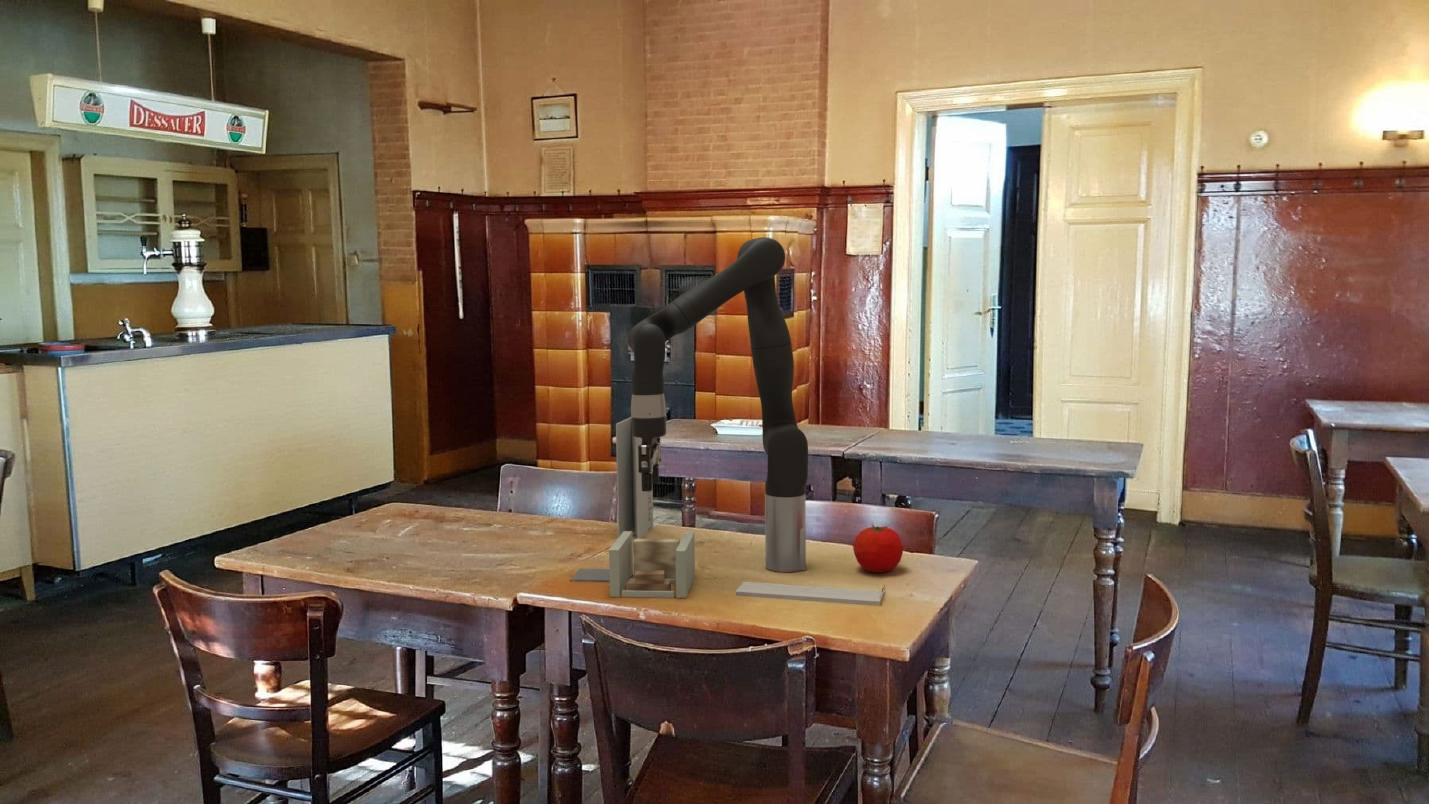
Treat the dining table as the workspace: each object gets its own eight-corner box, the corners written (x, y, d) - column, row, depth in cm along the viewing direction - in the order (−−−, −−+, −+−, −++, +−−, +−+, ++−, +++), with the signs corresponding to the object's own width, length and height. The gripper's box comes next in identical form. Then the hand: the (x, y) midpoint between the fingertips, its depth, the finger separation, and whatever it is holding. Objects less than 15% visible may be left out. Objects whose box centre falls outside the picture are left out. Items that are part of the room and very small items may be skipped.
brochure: (638, 540, 265) (636, 424, 261) (618, 539, 266) (615, 424, 262) (653, 528, 279) (651, 417, 275) (633, 527, 280) (631, 416, 276)
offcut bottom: (671, 593, 220) (671, 580, 220) (669, 598, 217) (669, 584, 217) (629, 593, 221) (629, 579, 221) (626, 597, 218) (626, 583, 218)
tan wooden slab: (680, 578, 230) (679, 539, 229) (678, 582, 228) (678, 542, 227) (635, 578, 231) (635, 538, 230) (633, 581, 229) (633, 541, 228)
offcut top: (664, 579, 220) (664, 570, 220) (663, 583, 217) (663, 574, 217) (636, 580, 220) (635, 570, 220) (635, 583, 217) (635, 574, 217)
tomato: (910, 566, 238) (911, 522, 237) (891, 580, 227) (892, 534, 226) (864, 560, 244) (865, 517, 243) (844, 573, 233) (844, 529, 232)
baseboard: (746, 584, 227) (735, 598, 218) (746, 572, 227) (735, 585, 217) (885, 594, 219) (880, 608, 209) (885, 581, 219) (880, 595, 209)
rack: (694, 575, 232) (694, 532, 231) (685, 598, 216) (685, 551, 215) (624, 574, 234) (623, 531, 233) (610, 596, 217) (609, 549, 216)
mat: (622, 571, 237) (622, 569, 237) (614, 582, 228) (614, 580, 228) (579, 570, 238) (579, 568, 238) (570, 581, 229) (570, 579, 229)
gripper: (660, 418, 219) (662, 493, 221) (670, 410, 233) (672, 481, 235) (625, 418, 220) (627, 493, 222) (637, 410, 234) (639, 481, 236)
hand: (650, 487), depth 229 cm, fingers open, 8 cm apart
